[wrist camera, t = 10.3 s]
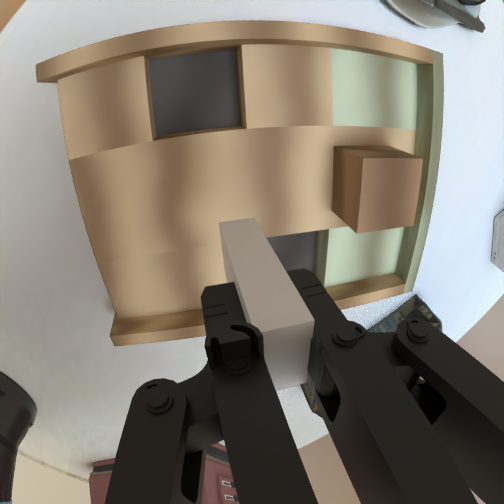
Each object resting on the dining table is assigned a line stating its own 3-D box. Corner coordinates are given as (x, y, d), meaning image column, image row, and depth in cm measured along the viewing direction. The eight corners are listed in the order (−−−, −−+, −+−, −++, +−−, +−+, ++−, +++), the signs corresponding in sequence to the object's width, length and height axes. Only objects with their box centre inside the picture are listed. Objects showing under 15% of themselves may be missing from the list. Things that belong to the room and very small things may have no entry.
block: (331, 210, 22) (356, 233, 18) (333, 145, 19) (362, 158, 16) (384, 205, 22) (413, 225, 19) (389, 146, 20) (422, 158, 17)
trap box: (121, 311, 26) (114, 346, 22) (63, 68, 15) (35, 64, 11) (389, 266, 29) (412, 291, 26) (407, 54, 18) (442, 53, 15)
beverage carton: (423, 321, 37) (448, 351, 32) (316, 393, 40) (331, 428, 34) (416, 291, 33) (446, 324, 27) (292, 374, 36) (307, 415, 30)
